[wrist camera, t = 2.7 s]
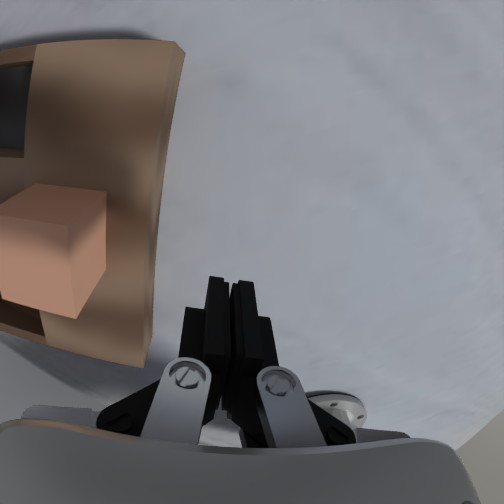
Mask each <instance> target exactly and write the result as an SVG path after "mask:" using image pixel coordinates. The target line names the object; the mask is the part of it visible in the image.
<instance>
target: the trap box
mask: <svg viewBox="0 0 504 504" xmlns="http://www.w3.org/2000/svg"><path fill="white" fill-rule="evenodd" d="M184 57H185V52H184V51H183V50H182V49H181V48H180V47H179V46H178V45H177V44H176V43H175V42H174V41H161V40H141V39H93V40H74V41H62V42H51V43H43V44H35V45H28V46H21V47H15V48H10V49H4V50H0V204H2V203H3V202H5V201H7V200H8V199H10V198H11V197H13V196H15V195H17V194H18V193H20V192H22V191H23V190H25V189H27V188H29V187H30V186H32V185H34V184H36V183H37V184H47V185H56V186H64V187H73V188H81V189H89V190H97V191H105V192H107V203H106V270H105V272H104V273H103V275H102V277H101V278H100V280H99V281H98V283H97V285H96V286H95V288H94V290H93V291H92V293H91V294H90V296H89V298H88V300H87V301H86V303H85V305H84V306H83V308H82V310H81V311H80V313H79V315H78V317H77V318H76V319H74V318H70V317H66V316H62V315H58V314H54V313H50V312H47V311H43V310H39V309H35V308H32V307H28V306H25V305H21V304H18V303H15V302H11V301H8V300H5V299H2V296H1V292H0V330H2V331H4V332H7V333H10V334H13V335H16V336H19V337H22V338H25V339H28V340H31V341H34V342H37V343H41V344H44V345H47V346H51V347H54V348H58V349H61V350H65V351H69V352H72V353H76V354H80V355H84V356H88V357H92V358H96V359H101V360H105V361H109V362H114V363H119V364H123V365H128V366H133V367H138V368H144V365H145V361H146V357H147V353H148V349H149V345H150V342H151V338H152V325H153V296H154V276H155V260H156V247H157V235H158V224H159V213H160V204H161V195H162V186H163V178H164V171H165V163H166V156H167V149H168V143H169V136H170V130H171V124H172V118H173V112H174V107H175V101H176V96H177V91H178V86H179V81H180V76H181V71H182V66H183V62H184Z"/></svg>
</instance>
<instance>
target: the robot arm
mask: <svg viewBox="0 0 504 504" xmlns="http://www.w3.org/2000/svg"><path fill="white" fill-rule="evenodd" d="M220 398H222V410H227V419H232V421H233V422H234V423H235V424H237V425H238V426H239V428H238V430H239V436H240V440H241V445H242V448H235V447H218V446H205V445H198V443H199V439H200V434H201V429H202V426H204V425H205V424H207V423H208V422H209V421H211V420H212V419H213V417H214V413H215V409H216V410H218V406H219V402H220ZM366 418H367V413H366V410H365V407H364V405H363V404H362V402H361V401H360V400H358V399H357V398H354V397H352V396H347V395H342V394H329V395H319V396H314V397H309V398H307V397H306V394H305V392H304V390H303V387H302V385H301V383H300V380H299V379H298V377H297V376H296V375H295V374H294V373H293V372H292V371H290V370H288V369H287V368H284V367H280V366H279V363H278V358H277V352H276V347H275V341H274V336H273V331H272V325H271V320H270V318H269V317H262V316H258V311H257V304H256V297H255V290H254V283H253V282H250V281H242V280H239V281H238V284H237V283H233V284H232V289H231V293H230V298H229V282H224V278H221V277H214V276H210V277H209V283H208V289H207V295H206V301H205V308H204V309H198V308H191V307H186V308H185V315H184V321H183V328H182V335H181V343H180V350H179V358H177V359H174V360H172V361H171V362H169V363H168V364H167V366H166V367H165V369H164V372H163V375H162V377H161V379H160V380H158V381H156V382H155V383H153V384H151V385H149V386H147V387H145V388H143V389H141V390H139V391H138V392H136V393H134V394H132V395H130V396H128V397H126V398H124V399H122V400H120V401H118V402H116V403H114V404H112V405H110V406H108V407H106V408H105V409H104V410H102V411H92V409H91V408H72V407H57V406H45V405H33V406H30V407H28V408H27V409H26V410H25V411H24V412H23V414H22V417H21V419H16V420H10V421H6V422H3V423H1V424H0V504H481V503H480V500H479V498H478V495H477V492H476V490H475V487H474V485H473V482H472V480H471V478H470V476H469V473H468V471H467V469H466V468H465V466H464V464H463V462H462V460H461V458H460V457H459V455H458V454H457V453H456V451H455V450H454V449H453V448H452V447H450V446H449V445H447V444H445V443H442V442H439V441H435V440H430V439H423V438H410V436H408V435H407V434H405V433H403V432H397V431H384V430H374V429H365V428H361V427H362V426H363V424H364V423H365V420H366Z"/></svg>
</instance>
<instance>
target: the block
mask: <svg viewBox="0 0 504 504" xmlns="http://www.w3.org/2000/svg"><path fill="white" fill-rule="evenodd" d="M106 203H107V192H105V191H97V190H89V189H81V188H73V187H64V186H56V185H47V184H37V183H36V184H34V185H32V186H30V187H29V188H27V189H25V190H23V191H22V192H20V193H18V194H17V195H15V196H13V197H11V198H10V199H8V200H7V201H5V202H3V203H2V204H0V292H1V296H2V299H5V300H8V301H11V302H15V303H18V304H21V305H25V306H28V307H32V308H35V309H39V310H43V311H47V312H50V313H54V314H58V315H62V316H66V317H70V318H74V319H76V318H77V317H78V315H79V313H80V311H81V310H82V308H83V306H84V305H85V303H86V301H87V300H88V298H89V296H90V294H91V293H92V291H93V290H94V288H95V286H96V285H97V283H98V281H99V280H100V278H101V277H102V275H103V273H104V272H105V270H106Z"/></svg>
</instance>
